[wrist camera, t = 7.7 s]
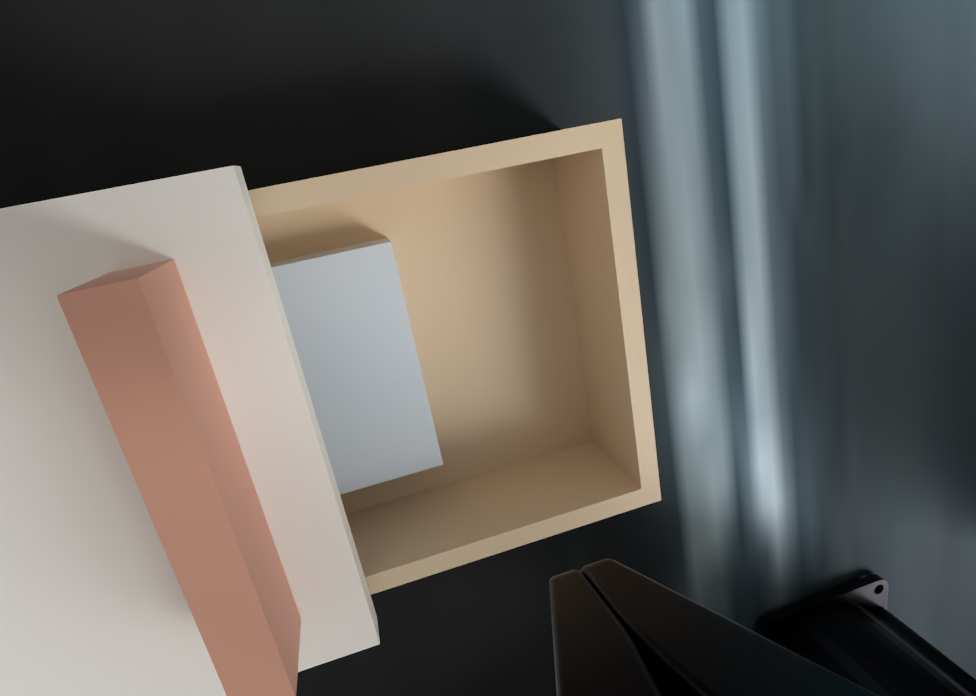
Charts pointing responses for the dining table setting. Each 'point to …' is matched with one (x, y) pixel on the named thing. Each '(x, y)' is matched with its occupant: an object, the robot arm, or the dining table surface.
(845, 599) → the robot arm
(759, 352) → the dining table surface
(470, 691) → the dining table surface
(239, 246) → the lid
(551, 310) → the beige open tray
